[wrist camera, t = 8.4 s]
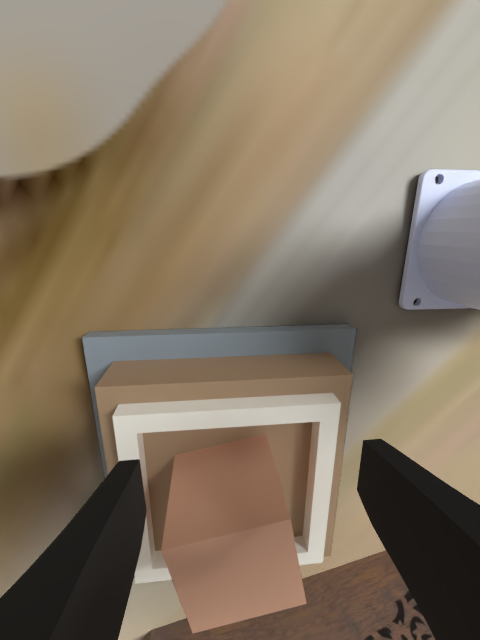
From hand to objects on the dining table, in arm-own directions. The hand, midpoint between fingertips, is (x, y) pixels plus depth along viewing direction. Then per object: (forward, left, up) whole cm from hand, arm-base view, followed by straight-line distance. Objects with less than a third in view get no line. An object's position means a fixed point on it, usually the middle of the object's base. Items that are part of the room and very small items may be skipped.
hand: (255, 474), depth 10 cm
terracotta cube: (0, +6, -6) cm, 8 cm away
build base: (0, +6, -10) cm, 12 cm away
